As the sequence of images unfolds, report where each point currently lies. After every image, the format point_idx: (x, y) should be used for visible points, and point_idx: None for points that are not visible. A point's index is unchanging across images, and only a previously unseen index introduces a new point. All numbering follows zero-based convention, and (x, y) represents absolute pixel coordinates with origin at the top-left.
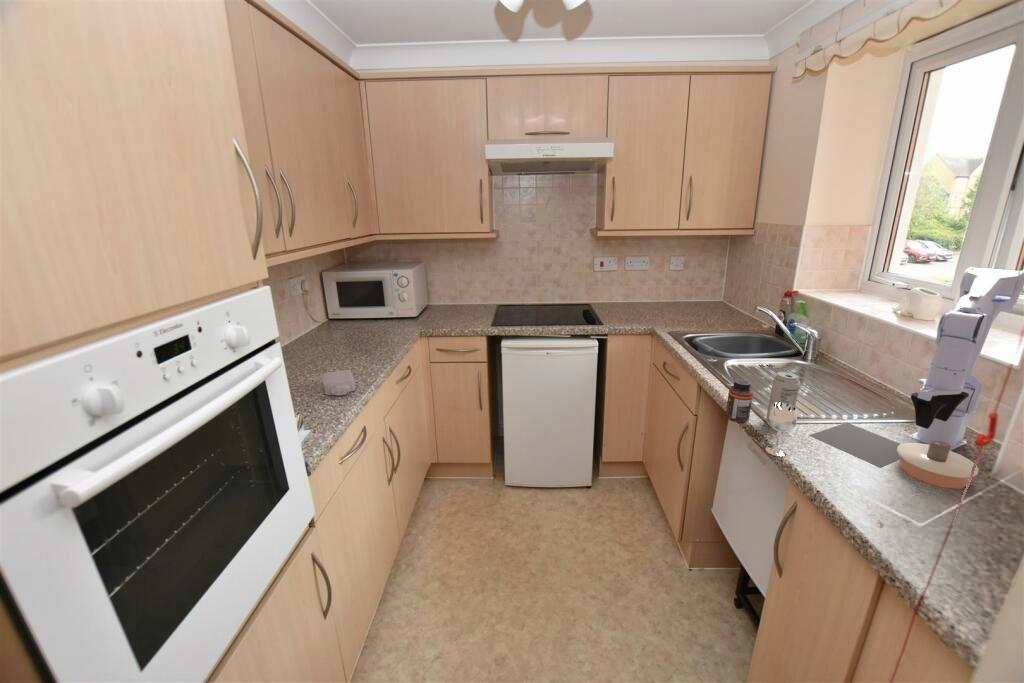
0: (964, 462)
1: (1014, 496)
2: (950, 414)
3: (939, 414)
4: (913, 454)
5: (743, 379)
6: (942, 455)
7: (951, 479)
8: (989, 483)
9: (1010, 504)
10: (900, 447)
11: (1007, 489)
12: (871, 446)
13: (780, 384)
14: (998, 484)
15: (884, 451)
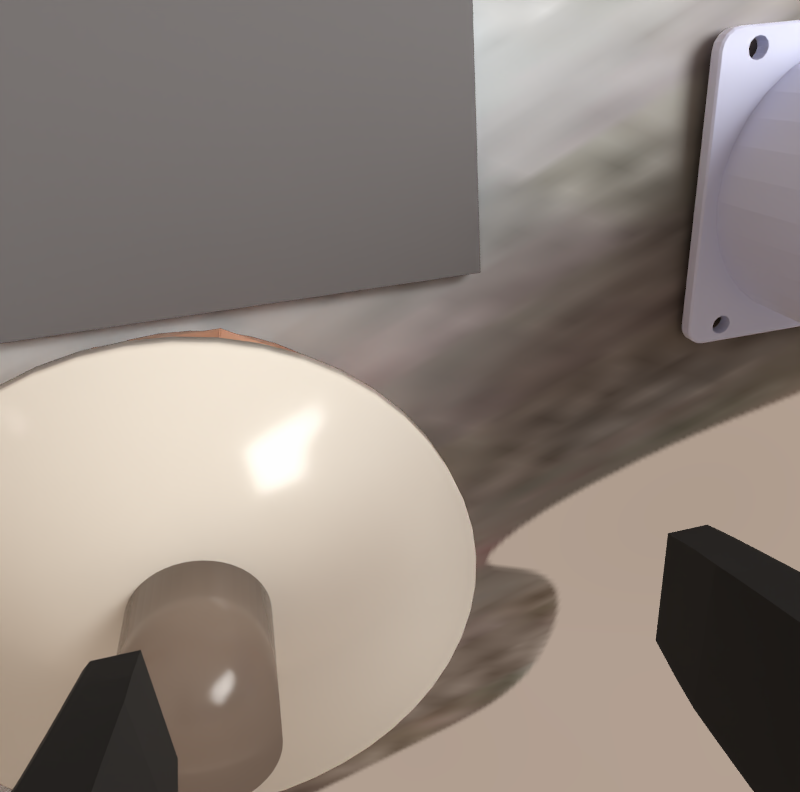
0: (359, 690)
1: (431, 732)
2: (749, 770)
3: (714, 637)
4: (34, 538)
5: None
6: None
7: None
8: (460, 639)
9: (320, 776)
10: (34, 406)
11: (479, 688)
12: (86, 27)
13: None
14: (496, 652)
15: (134, 167)
